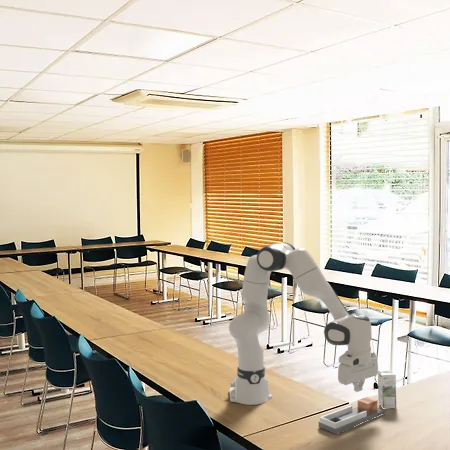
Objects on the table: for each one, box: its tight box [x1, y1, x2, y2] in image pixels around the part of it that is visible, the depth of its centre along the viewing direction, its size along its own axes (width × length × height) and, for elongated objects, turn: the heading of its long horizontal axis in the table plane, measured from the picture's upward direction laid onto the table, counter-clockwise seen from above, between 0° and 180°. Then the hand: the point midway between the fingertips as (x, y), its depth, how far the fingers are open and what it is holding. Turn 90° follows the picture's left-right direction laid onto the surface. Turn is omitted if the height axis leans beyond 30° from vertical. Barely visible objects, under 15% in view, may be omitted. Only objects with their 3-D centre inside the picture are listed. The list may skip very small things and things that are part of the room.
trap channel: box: [318, 405, 385, 435], centre depth 220 cm, size 28×9×4 cm, turn 128°
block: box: [357, 396, 379, 414], centre depth 226 cm, size 6×5×4 cm
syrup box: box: [377, 370, 397, 409], centre depth 233 cm, size 6×6×14 cm
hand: (358, 390), depth 223 cm, fingers closed
